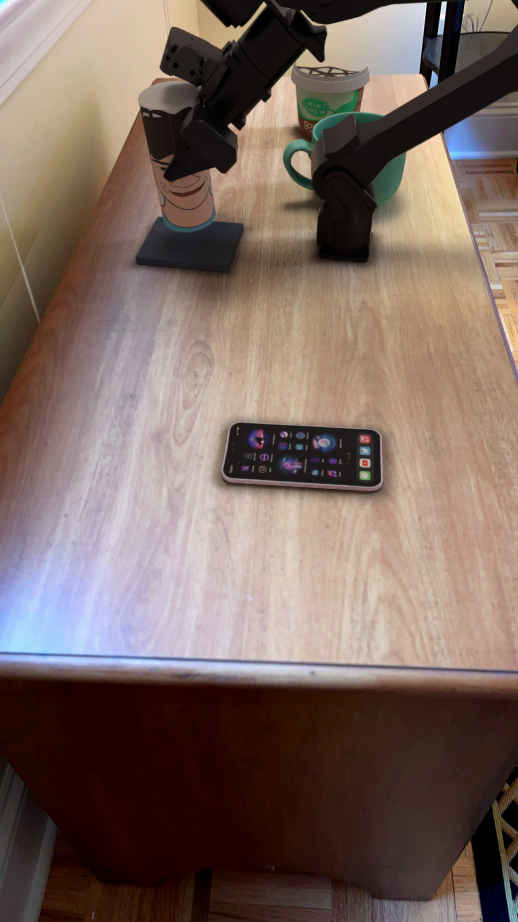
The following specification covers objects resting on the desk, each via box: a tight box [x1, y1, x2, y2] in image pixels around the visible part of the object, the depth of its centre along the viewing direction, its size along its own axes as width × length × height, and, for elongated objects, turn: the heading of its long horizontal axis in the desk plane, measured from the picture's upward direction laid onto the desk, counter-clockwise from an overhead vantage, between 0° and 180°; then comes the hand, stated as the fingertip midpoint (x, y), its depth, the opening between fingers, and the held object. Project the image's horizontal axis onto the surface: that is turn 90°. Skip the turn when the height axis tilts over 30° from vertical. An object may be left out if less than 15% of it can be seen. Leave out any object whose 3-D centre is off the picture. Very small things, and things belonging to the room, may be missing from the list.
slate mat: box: [135, 216, 245, 273], centre depth 90 cm, size 12×10×1 cm
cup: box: [137, 80, 217, 232], centre depth 82 cm, size 7×7×15 cm
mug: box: [282, 111, 408, 208], centre depth 94 cm, size 17×13×10 cm
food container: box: [290, 61, 371, 142], centre depth 107 cm, size 12×6×10 cm, turn 73°
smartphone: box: [221, 421, 384, 492], centre depth 66 cm, size 8×1×15 cm
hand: (169, 164), depth 82 cm, fingers closed on cup, 7 cm apart
